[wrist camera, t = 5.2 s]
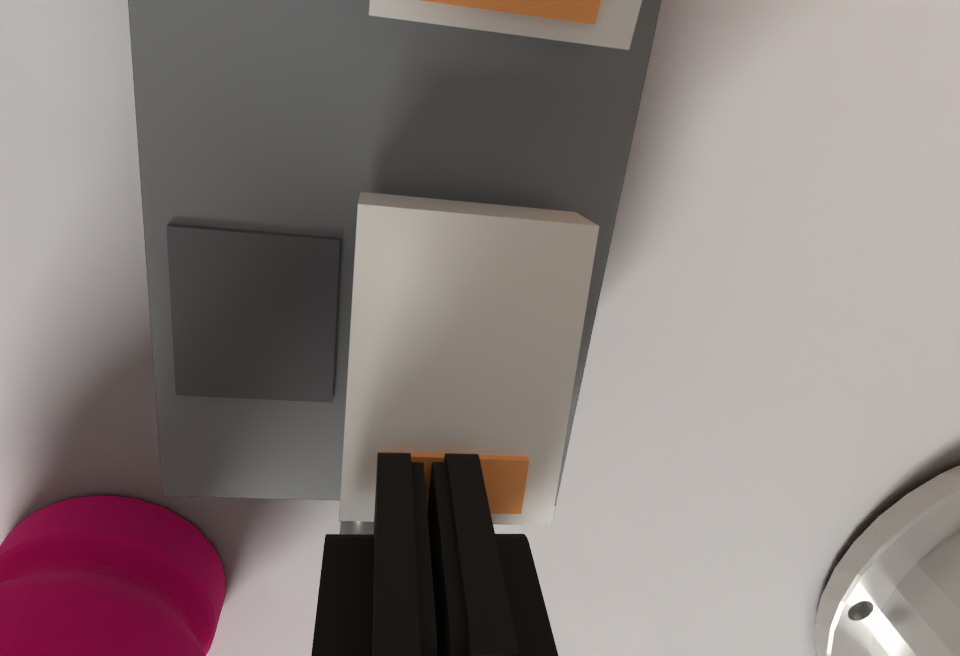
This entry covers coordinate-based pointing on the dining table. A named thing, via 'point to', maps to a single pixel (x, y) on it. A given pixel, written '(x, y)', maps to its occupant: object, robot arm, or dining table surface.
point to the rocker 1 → (526, 17)
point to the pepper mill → (108, 582)
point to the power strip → (332, 201)
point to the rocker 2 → (465, 345)
